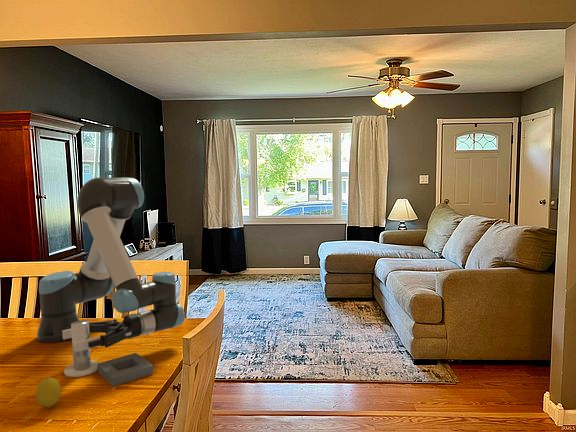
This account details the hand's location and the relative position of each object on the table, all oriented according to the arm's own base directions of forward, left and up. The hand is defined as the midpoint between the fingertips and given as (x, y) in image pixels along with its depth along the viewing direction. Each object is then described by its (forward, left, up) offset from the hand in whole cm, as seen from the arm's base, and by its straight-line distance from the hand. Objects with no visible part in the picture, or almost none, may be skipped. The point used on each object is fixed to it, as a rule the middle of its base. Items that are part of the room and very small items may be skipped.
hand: (68, 340), depth 131 cm
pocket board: (+11, +12, -10) cm, 19 cm away
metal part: (0, +3, -9) cm, 10 cm away
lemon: (+18, -10, -10) cm, 23 cm away
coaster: (0, +3, -10) cm, 11 cm away
